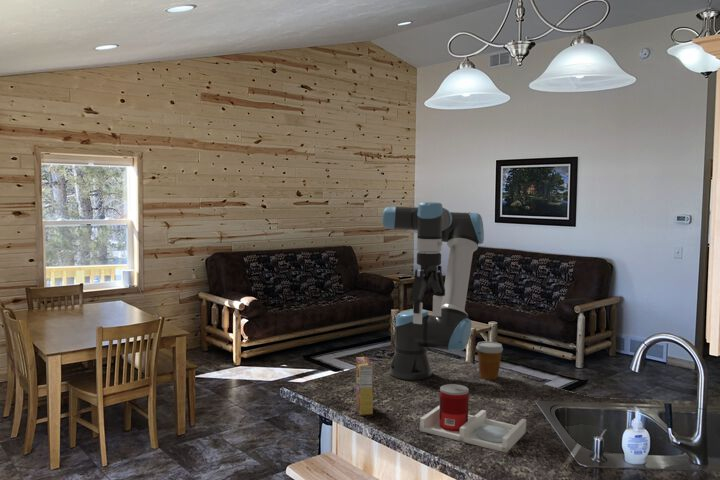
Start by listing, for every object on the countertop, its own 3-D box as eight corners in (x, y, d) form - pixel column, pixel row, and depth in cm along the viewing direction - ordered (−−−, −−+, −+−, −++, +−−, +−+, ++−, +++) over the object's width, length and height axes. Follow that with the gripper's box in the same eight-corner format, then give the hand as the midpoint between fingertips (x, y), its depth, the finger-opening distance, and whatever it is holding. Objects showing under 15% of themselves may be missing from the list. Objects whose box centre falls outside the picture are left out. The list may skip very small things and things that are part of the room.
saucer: (483, 427, 171) (483, 422, 171) (514, 434, 166) (515, 430, 166) (471, 437, 163) (471, 433, 163) (503, 446, 158) (503, 441, 158)
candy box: (354, 404, 190) (355, 356, 189) (368, 404, 190) (369, 356, 189) (358, 415, 181) (359, 365, 180) (373, 414, 182) (373, 364, 180)
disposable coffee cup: (470, 377, 218) (471, 345, 217) (481, 371, 226) (482, 339, 225) (496, 382, 213) (497, 349, 212) (506, 376, 221) (507, 343, 220)
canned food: (472, 430, 168) (473, 391, 167) (446, 433, 166) (447, 394, 165) (460, 420, 176) (461, 382, 175) (434, 422, 173) (435, 385, 172)
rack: (444, 416, 181) (444, 401, 181) (525, 435, 168) (526, 419, 168) (419, 434, 168) (420, 418, 167) (506, 456, 155) (507, 439, 154)
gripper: (421, 256, 176) (420, 328, 177) (456, 249, 197) (454, 314, 198) (398, 254, 180) (397, 325, 181) (435, 248, 201) (433, 311, 202)
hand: (427, 319), depth 190 cm, fingers open, 13 cm apart
